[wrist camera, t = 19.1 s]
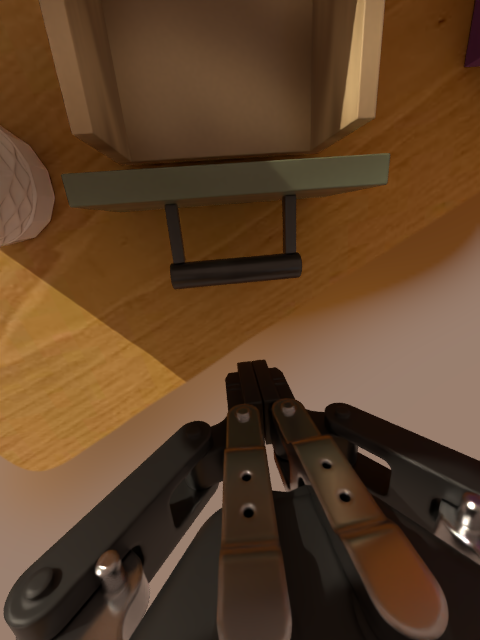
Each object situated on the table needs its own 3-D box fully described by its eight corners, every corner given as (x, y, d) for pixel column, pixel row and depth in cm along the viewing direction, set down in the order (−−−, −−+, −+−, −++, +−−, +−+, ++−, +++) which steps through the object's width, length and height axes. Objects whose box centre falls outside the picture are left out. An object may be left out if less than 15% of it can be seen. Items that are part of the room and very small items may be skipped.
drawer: (323, 261, 20) (377, 281, 13) (134, 279, 19) (96, 309, 12) (336, -132, 13) (456, -463, 7) (46, -137, 12) (-134, -532, 6)
